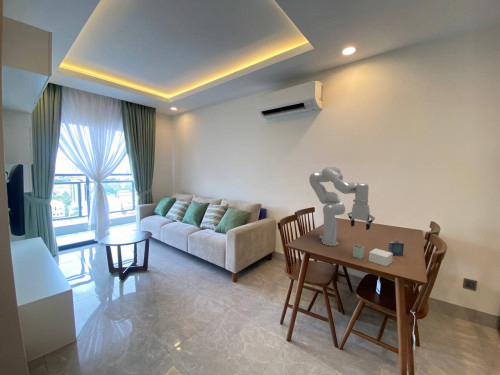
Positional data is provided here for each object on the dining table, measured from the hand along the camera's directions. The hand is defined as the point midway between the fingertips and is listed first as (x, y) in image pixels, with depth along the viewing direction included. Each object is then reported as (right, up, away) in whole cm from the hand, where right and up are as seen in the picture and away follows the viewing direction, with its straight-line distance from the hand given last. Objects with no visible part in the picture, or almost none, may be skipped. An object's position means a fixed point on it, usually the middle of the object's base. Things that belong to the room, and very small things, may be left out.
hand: (360, 227), depth 139 cm
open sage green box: (0, -20, +2) cm, 20 cm away
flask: (+27, -20, +5) cm, 34 cm away
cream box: (+10, -21, -5) cm, 24 cm away
